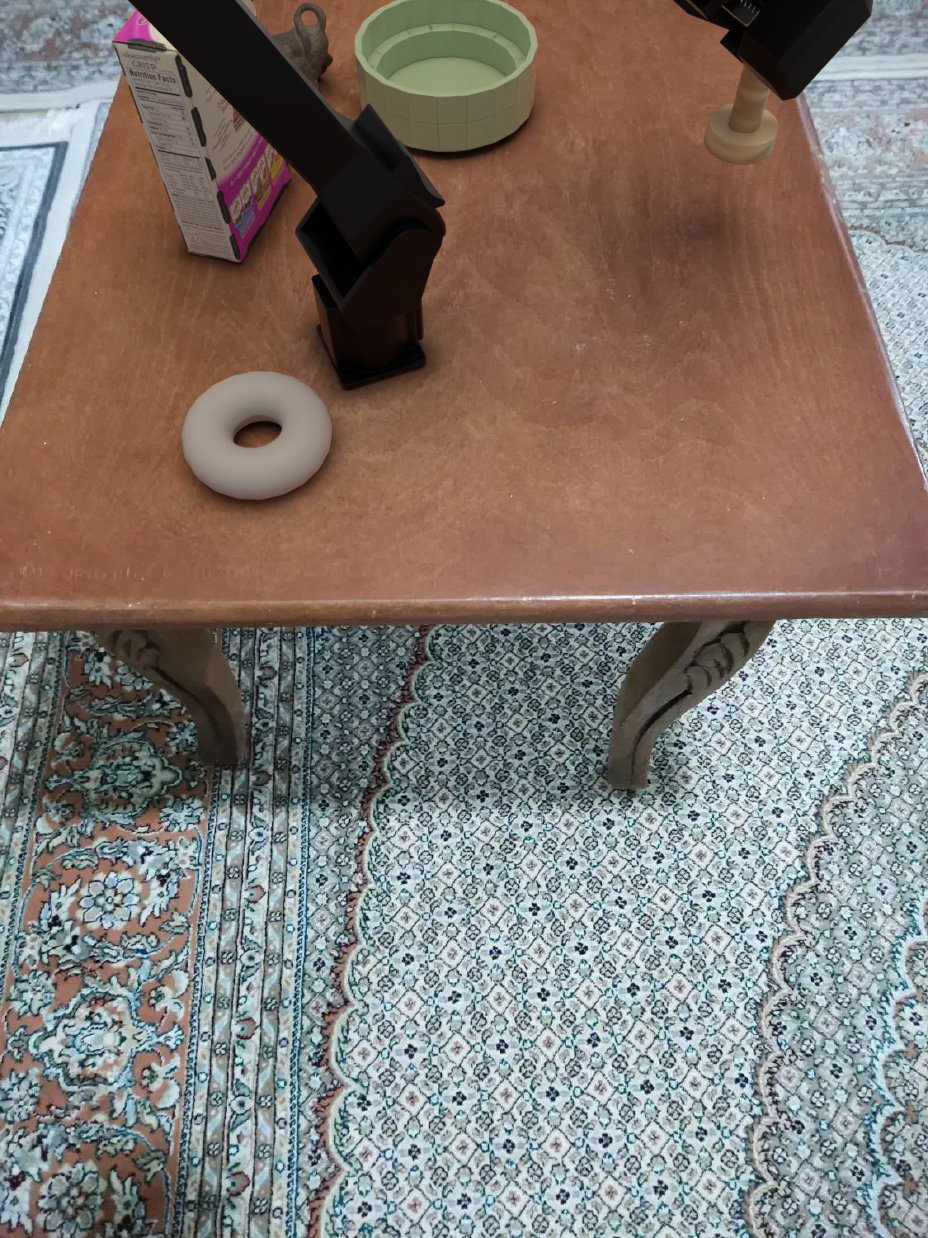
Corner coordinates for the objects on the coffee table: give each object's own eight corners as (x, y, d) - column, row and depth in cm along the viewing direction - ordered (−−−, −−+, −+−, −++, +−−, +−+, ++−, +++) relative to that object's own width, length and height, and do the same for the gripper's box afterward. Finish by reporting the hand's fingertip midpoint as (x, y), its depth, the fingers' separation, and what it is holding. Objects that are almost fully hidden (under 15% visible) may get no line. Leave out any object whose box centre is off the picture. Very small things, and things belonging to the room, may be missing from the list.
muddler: (765, 171, 63) (834, -42, 51) (697, 156, 64) (749, -58, 52) (778, 130, 65) (847, -84, 54) (712, 116, 66) (765, -98, 54)
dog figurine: (339, 74, 81) (328, -16, 74) (333, 113, 78) (320, 23, 71) (209, 72, 81) (186, -18, 74) (198, 110, 78) (173, 21, 72)
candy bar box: (238, 167, 75) (181, -55, 60) (293, 177, 74) (249, -45, 59) (182, 255, 70) (106, 35, 55) (241, 266, 69) (179, 47, 54)
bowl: (396, 178, 74) (391, 113, 69) (339, 78, 80) (330, 13, 76) (561, 133, 76) (567, 69, 72) (492, 40, 83) (493, -24, 78)
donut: (169, 498, 59) (313, 520, 58) (151, 465, 56) (303, 488, 55) (218, 386, 63) (352, 405, 62) (204, 350, 60) (345, 369, 59)
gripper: (924, -209, 39) (987, -1, 51) (693, -346, 47) (795, -137, 59) (730, 24, 45) (829, 163, 57) (552, -134, 53) (671, 18, 65)
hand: (781, 44), depth 59 cm, fingers closed on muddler, 2 cm apart
